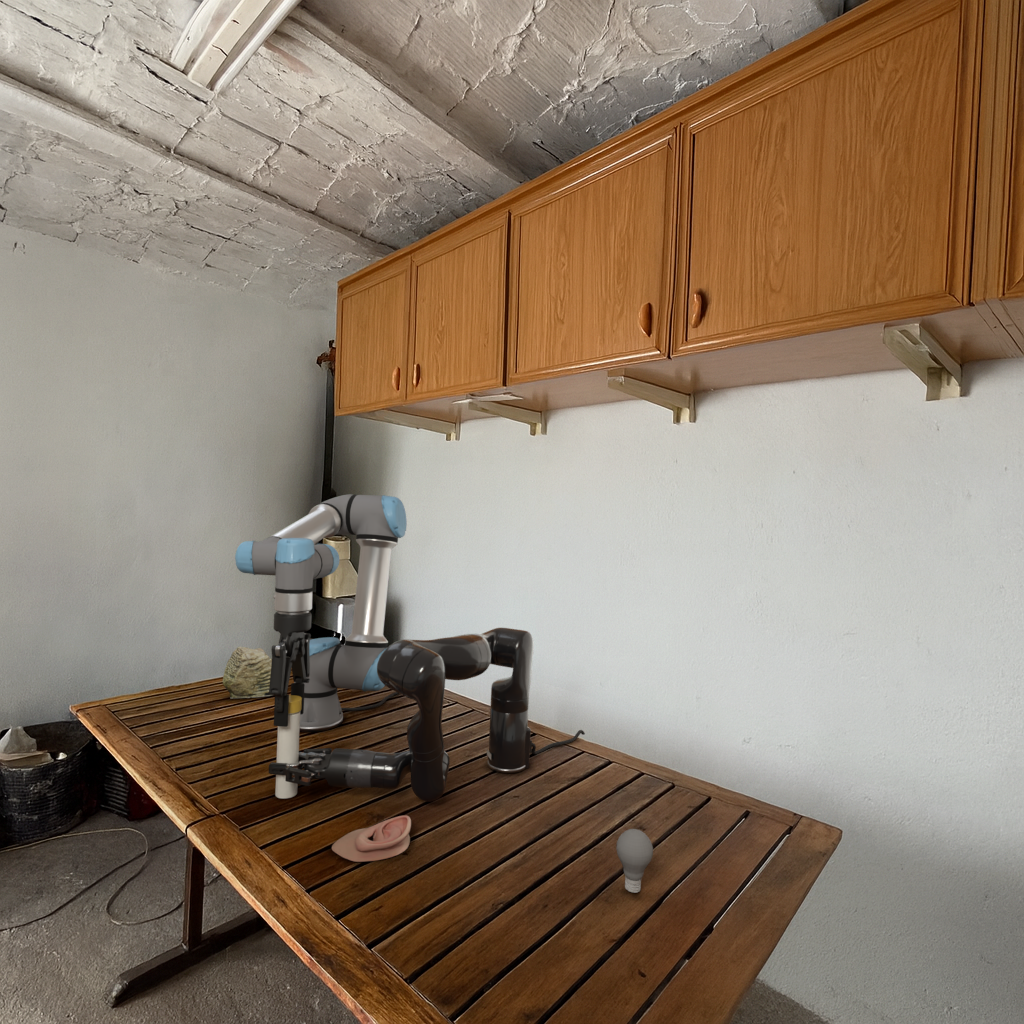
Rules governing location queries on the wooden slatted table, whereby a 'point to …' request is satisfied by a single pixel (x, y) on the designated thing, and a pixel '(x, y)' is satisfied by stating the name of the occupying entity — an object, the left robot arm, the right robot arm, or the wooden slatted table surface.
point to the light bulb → (634, 857)
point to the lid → (294, 704)
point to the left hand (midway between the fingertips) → (289, 719)
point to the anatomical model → (375, 841)
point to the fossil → (248, 673)
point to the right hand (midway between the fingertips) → (274, 763)
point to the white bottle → (287, 754)
